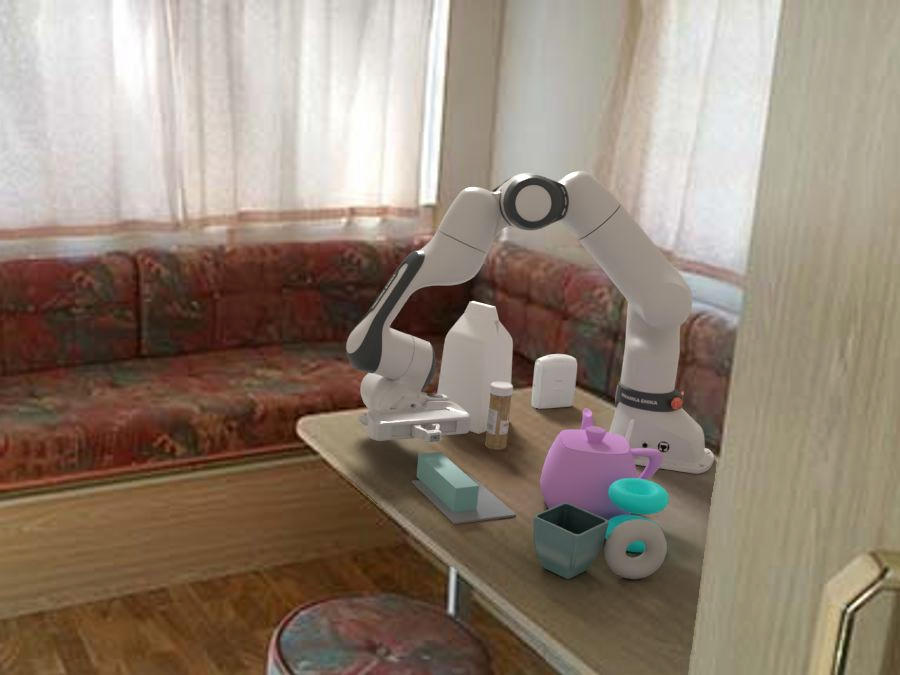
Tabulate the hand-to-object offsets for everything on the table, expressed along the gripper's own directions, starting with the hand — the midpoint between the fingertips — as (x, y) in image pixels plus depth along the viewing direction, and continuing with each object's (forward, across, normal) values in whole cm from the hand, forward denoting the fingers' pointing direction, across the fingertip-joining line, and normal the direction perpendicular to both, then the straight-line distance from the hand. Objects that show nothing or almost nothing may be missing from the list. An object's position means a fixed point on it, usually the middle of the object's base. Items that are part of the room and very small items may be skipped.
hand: (435, 437), depth 195 cm
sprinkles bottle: (-13, +20, +9) cm, 26 cm away
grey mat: (+9, +2, +9) cm, 12 cm away
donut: (+43, +15, +9) cm, 46 cm away
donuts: (+32, +23, +9) cm, 40 cm away
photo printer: (-33, +46, +9) cm, 57 cm away
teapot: (+17, +23, +9) cm, 30 cm away
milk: (-28, +23, +9) cm, 37 cm away
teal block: (-2, 0, +6) cm, 6 cm away
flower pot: (+37, +6, +9) cm, 39 cm away
